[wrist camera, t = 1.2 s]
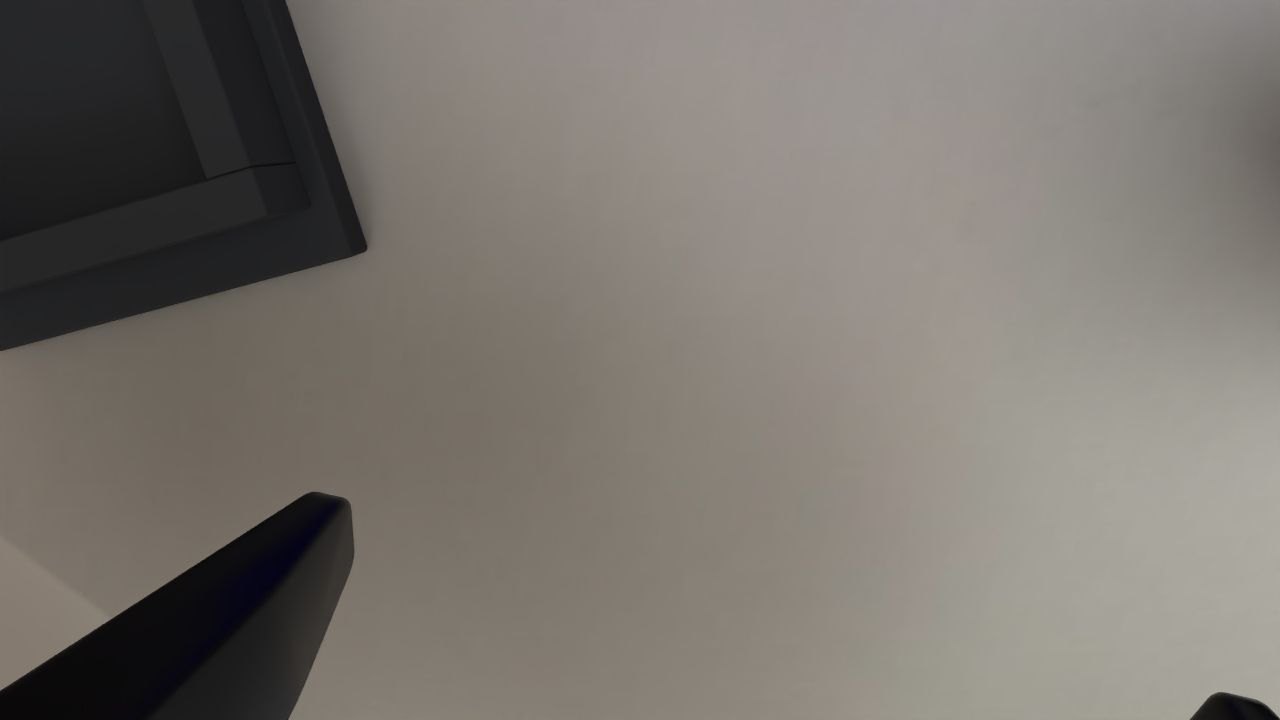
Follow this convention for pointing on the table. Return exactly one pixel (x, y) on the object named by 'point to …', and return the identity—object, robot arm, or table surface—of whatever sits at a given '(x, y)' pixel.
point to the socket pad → (156, 159)
